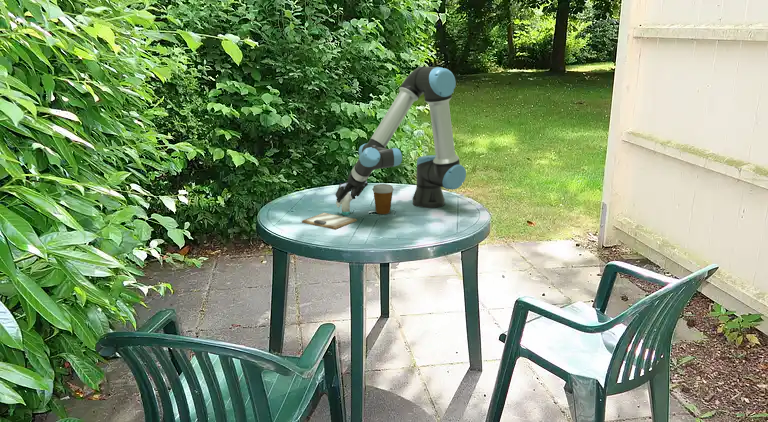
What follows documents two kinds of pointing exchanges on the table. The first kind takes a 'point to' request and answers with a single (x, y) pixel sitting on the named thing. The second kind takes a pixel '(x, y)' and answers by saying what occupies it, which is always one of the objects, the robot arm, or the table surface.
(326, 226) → the clipboard
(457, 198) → the table surface
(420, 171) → the robot arm
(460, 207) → the table surface
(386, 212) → the disposable coffee cup
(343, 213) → the ball
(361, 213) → the table surface
